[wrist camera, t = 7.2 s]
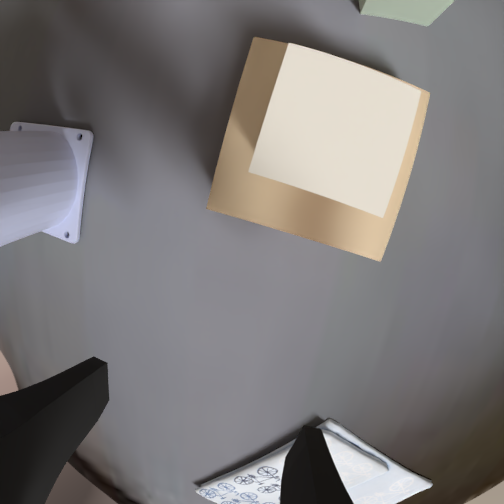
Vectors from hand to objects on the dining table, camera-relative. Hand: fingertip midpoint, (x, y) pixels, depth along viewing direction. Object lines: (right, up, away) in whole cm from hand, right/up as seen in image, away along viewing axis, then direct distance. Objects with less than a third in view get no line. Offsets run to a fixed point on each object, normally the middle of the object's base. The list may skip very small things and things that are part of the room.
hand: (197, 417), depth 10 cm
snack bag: (+9, -20, +16) cm, 28 cm away
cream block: (+5, +11, +4) cm, 13 cm away
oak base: (+6, +11, +7) cm, 14 cm away
